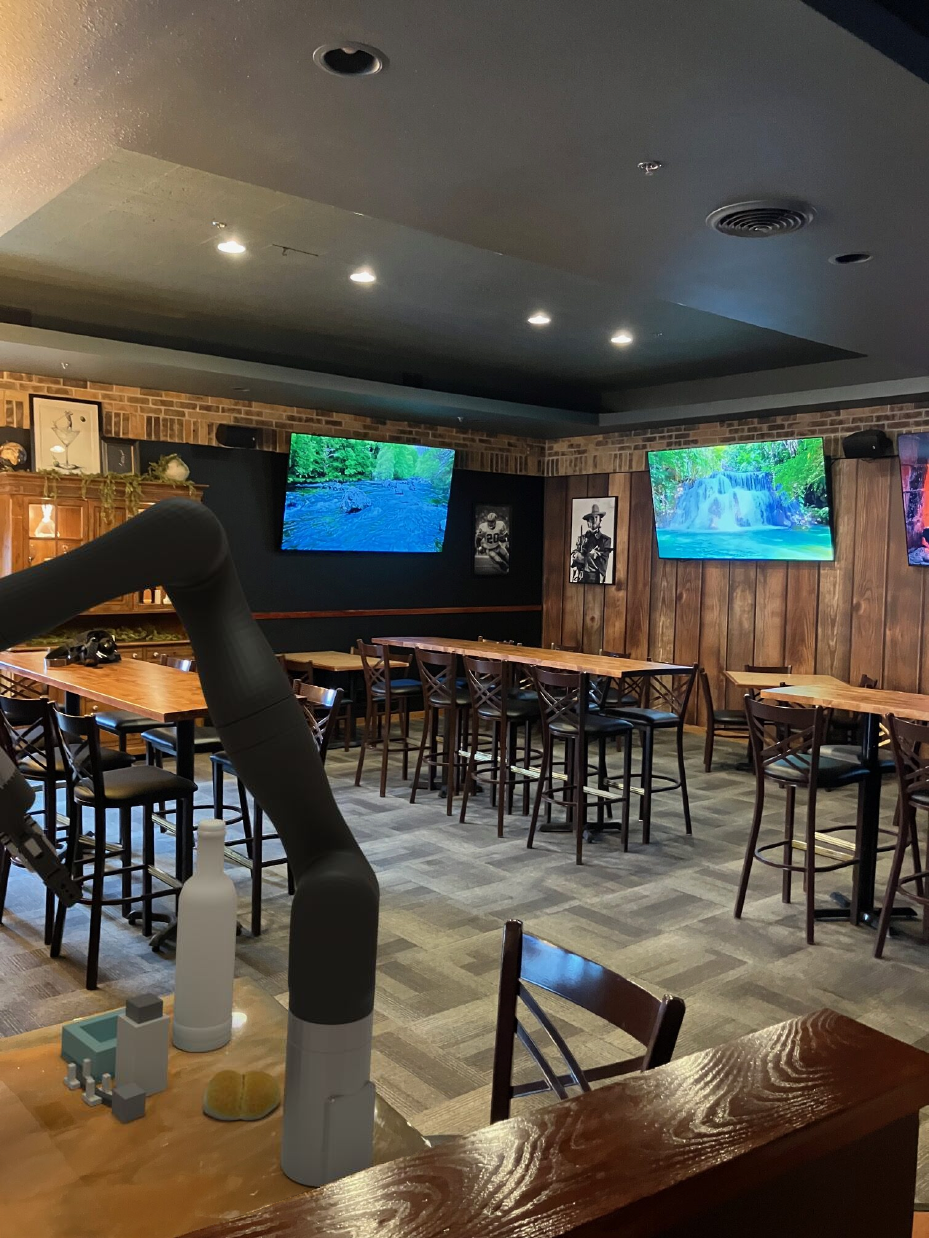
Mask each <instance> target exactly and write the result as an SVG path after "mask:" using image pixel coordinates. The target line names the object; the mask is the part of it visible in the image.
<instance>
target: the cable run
mask: <svg viewBox="0 0 929 1238" xmlns="http://www.w3.org/2000/svg"><path fill="white" fill-rule="evenodd" d="M66 1068H67V1072H66V1077H63V1082H62V1083H64V1084H65V1086H66V1087H68V1088H69V1089H70V1090H72V1091H73V1090H76V1089H79V1088H80V1089H82V1091H83V1093H81V1100H83V1101H84V1102H85V1103H86V1104H87V1105H88V1106H90V1107H94V1106H96V1105H100V1104H103V1105H105V1106H108V1107H110V1108H111V1111H110V1112H111V1114H112V1116H114V1117H115V1118H117V1119H118V1120H119V1121H120V1122H121V1123H123V1124H126V1123H129V1122H132V1121H134V1120H137V1119H139V1118H143V1117H145V1116H146V1101H147V1100H146V1092H145V1091H144V1090H143V1089H141V1088H140V1087H139V1086H138V1085H136V1084H135V1083H134V1082H132V1083H129V1084H126V1085H124V1086H121V1087H118V1088H115V1087H114V1088H113V1089H112V1091H111V1087H112V1086H111V1085H112V1084H111V1083H112V1079H111V1075H109V1074H108V1073H107V1074H104V1075H102V1083H101V1086H100V1087H97V1085H95V1081H94V1080H93V1078H92V1077H91V1076H90V1071H91V1060H89V1059H88V1058H87V1059H84V1060H83V1072H82V1068H80V1069H76V1065H75V1064H74V1063H72V1064H69V1063H68V1064H67V1065H66Z"/></svg>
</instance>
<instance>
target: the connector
mask: <svg viewBox="0 0 929 1238" xmlns="http://www.w3.org/2000/svg"><path fill="white" fill-rule="evenodd" d="M125 1008H126V1011H125V1013H123V1014H119V1015H118V1021H117V1043H116V1065H115V1078H114V1089H115V1088H118V1087H121V1086H124V1085H126V1084H129V1083H132V1082H134V1083H135V1084H136V1085H138V1086H139V1087H140V1088H141V1089H143V1090H144V1091H145V1092H146V1097H149V1096H152V1095H155V1094H157V1093H161V1092H164V1091H166V1090H167V1089H168V1086H167V1085H168V1073H169V1072H168V1067H169V1048H170V1047H169V1046H170V1045H169V1044H170V1026H171V1016H169V1015H168V1014H166V1013H165V1012H164V1011H163V1010H164V1000H163V999H161V998H159V997H158V996H157V995H155V994H154V993H152V992H146V993H143V994H140V995H136V996H133V997H129V998H126V999H125ZM165 1089H166V1090H165ZM163 1090H164V1091H163ZM160 1091H161V1092H160Z"/></svg>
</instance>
